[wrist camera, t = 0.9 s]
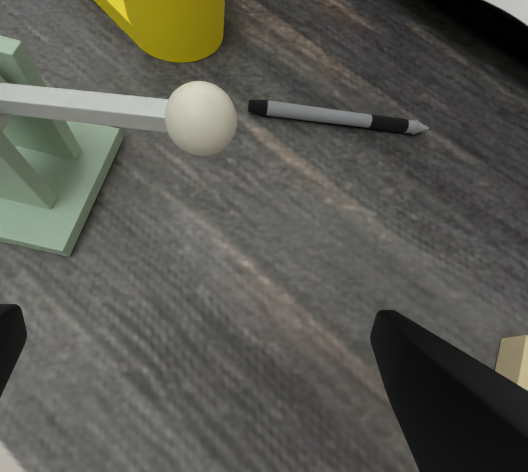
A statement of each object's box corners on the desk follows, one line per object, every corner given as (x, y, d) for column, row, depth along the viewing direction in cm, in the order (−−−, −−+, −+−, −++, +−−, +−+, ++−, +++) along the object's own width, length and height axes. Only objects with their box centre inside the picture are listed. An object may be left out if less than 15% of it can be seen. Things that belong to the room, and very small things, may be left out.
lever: (247, 121, 17) (238, 67, 15) (232, 174, 16) (220, 125, 13) (-12, 94, 19) (-64, 41, 17) (-43, 138, 18) (-106, 90, 15)
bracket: (123, 138, 27) (80, 17, 18) (69, 257, 23) (-22, 178, 14) (19, 112, 26) (-80, -25, 17) (-55, 229, 22) (-233, 128, 13)
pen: (248, 105, 30) (249, 93, 29) (425, 128, 32) (434, 118, 31) (247, 117, 29) (248, 106, 28) (427, 140, 31) (436, 130, 30)
